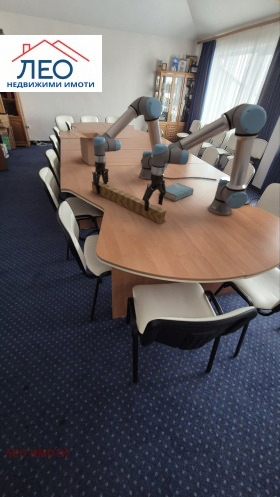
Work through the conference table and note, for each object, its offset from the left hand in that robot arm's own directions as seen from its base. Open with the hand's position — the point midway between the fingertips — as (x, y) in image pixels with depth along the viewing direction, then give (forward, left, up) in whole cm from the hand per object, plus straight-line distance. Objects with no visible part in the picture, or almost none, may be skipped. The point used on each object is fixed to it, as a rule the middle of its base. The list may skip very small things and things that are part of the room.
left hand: (101, 192), depth 169 cm
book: (-59, 0, -1) cm, 59 cm away
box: (+12, -86, -1) cm, 87 cm away
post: (-17, +19, -1) cm, 26 cm away
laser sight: (-50, -80, -1) cm, 94 cm away
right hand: (-34, +38, +7) cm, 51 cm away
